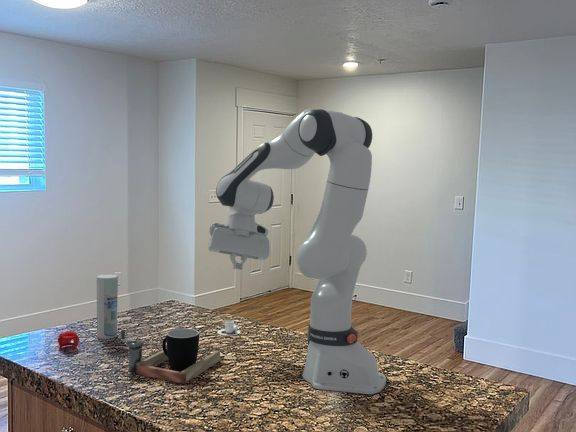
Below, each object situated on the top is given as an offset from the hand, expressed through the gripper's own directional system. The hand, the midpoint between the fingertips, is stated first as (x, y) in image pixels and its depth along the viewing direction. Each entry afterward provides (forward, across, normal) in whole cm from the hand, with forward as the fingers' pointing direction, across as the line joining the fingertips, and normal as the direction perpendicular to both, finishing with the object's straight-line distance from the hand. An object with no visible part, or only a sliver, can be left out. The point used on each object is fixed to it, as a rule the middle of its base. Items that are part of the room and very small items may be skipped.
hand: (237, 269), depth 172 cm
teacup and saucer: (+17, +10, +21) cm, 28 cm away
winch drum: (+33, -29, +1) cm, 43 cm away
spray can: (+21, -32, +32) cm, 50 cm away
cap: (+27, -44, +24) cm, 57 cm away
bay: (+32, -16, -3) cm, 36 cm away
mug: (+32, -16, -3) cm, 36 cm away
